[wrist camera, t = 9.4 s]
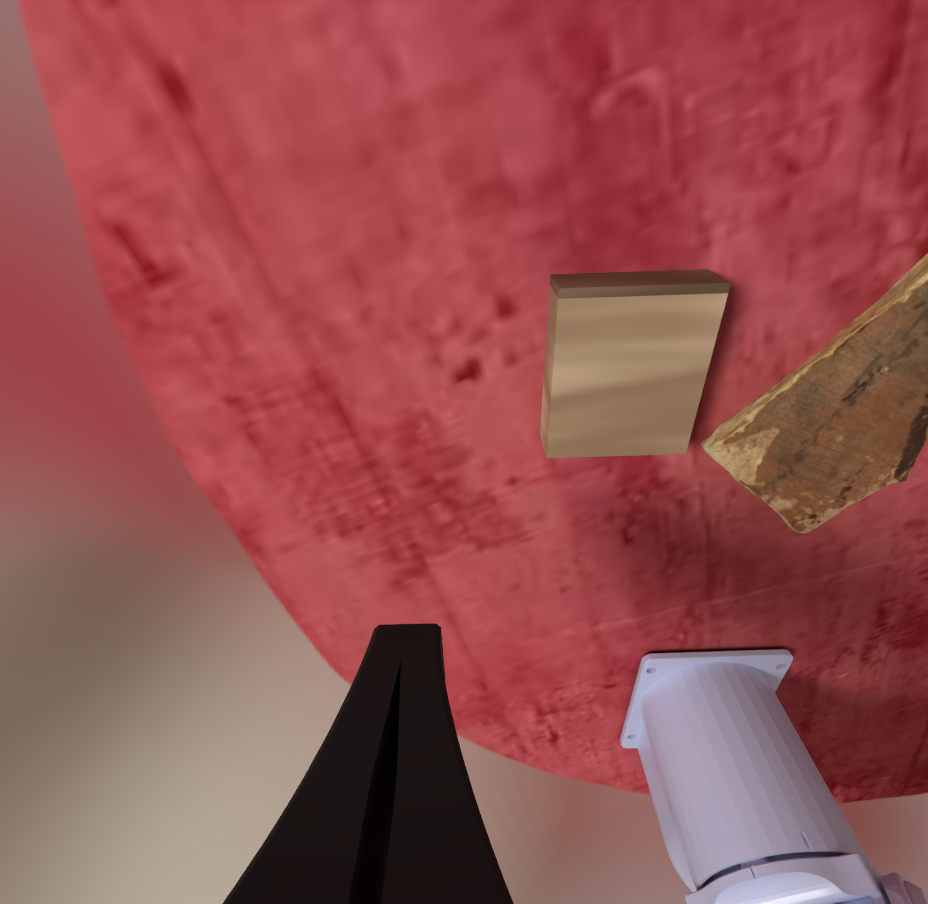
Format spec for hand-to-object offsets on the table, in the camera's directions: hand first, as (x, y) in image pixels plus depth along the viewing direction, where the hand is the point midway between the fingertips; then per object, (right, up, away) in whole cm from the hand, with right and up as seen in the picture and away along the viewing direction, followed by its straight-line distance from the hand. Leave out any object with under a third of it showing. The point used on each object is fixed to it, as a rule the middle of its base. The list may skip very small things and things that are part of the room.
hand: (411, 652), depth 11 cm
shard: (+14, +7, +8) cm, 18 cm away
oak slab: (+7, +5, +8) cm, 11 cm away
